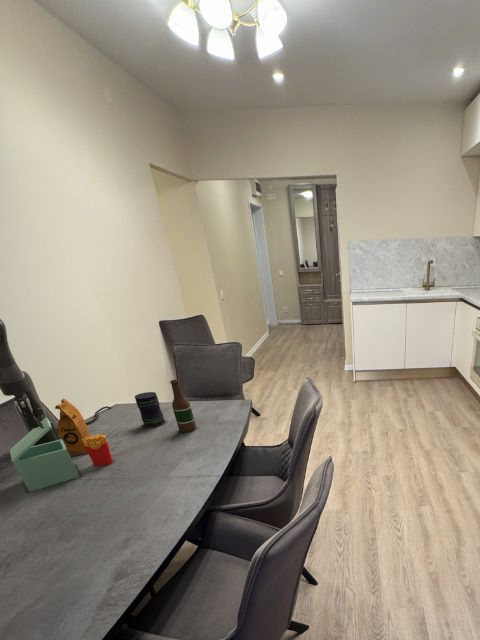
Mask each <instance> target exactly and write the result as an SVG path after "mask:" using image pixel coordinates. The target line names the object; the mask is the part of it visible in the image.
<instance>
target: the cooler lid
mask: <svg viewBox="0 0 480 640" xmlns="http://www.w3.org/2000/svg"><path fill="white" fill-rule="evenodd" d="M34 418H35V416H34ZM48 419H49V418H48ZM48 419H47V418H45V419H44V420H42V421H41V422H39V421H38V420H36V419H35V420H36V422H37V424H38V426H39V427H38V428H34V429H32V430H31V431H30V432H29V433H27V434H26V435H25V436H23V438H21V439H20V440H19V441H18V442H17V443H16V444H15V445H13V446H12V447H11V448H10V449H9V453H10V459H11V462H12V463H13V462H15V461H16V460H17V459H18V458H19V457H20V456H21V455H23V454H24V453H25V452H26V451H27V450H28V449H29V448H30V447H33V446H34V445H33V444H35V443H36V442H37V441H38V440H39V439H40V438H41V437H42V436H43V435H44V434H46V433H47V432H48V431H49V430H50V429H51V428H52V427H51V425H50V422H51V421H50V420H48ZM49 421H50V422H49Z"/></svg>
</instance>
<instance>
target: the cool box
mask: <svg viewBox="0 0 480 640" xmlns="http://www.w3.org/2000/svg"><path fill="white" fill-rule="evenodd" d="M12 463H13V465H14V467H15V468H16V470H17V472H18V474H19V476H20V477H21V480H22V481H23V483H24V485H25V487H26V489H27V490H28V492H29V493H30V492H34V491H38V490H40V489H41V490H42V489H44V488H47V487H50V486H54V485H57V484H60V483H64V482H67V481H70V480H74V479H77V478H80V475H79V472H78V471H77V468H76V466H75V464H74V461H73V460H72V456H71V455H69V453H68V451H67V449H66V447H65V444H64V442H63V440H62V439H61V438H60V440H57V441H53V442H49V443H45V444H41V445H37V446H34V445H32V446H31V447H30V448H29V449H28V450H27V451H26V452H25V453H24V454H23V455H21V456H20V457H19V458H18V459H17V460H16V461H15V462H12Z"/></svg>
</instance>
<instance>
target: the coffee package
mask: <svg viewBox="0 0 480 640" xmlns="http://www.w3.org/2000/svg"><path fill="white" fill-rule="evenodd" d="M54 409H55V410H59V419H58V422H57V428H58V433H59V435H58V436H59V438H60V440H61V439H62V440H63V442H64V444H65V447H66V449H67V451H68V453H69V455H70V457H72V456H79V455H85V454H88V453H87V451H86V449H85V448H84V446H85V444H84V443H83V441H82V439H84V440H85V438H86V437H90V436H92V435H91V433H90V430H89V427H88V424H87V425H86V421H85V419H84V417H83V416H82V414H81V412H80V410H79V409H78V408H77V407H76V406H75V405H73V404H72V403H71V402H69V401H68V400H67V399H66V398H62V399H61V401H60V403H59V404H57V405H55V407H54Z"/></svg>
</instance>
